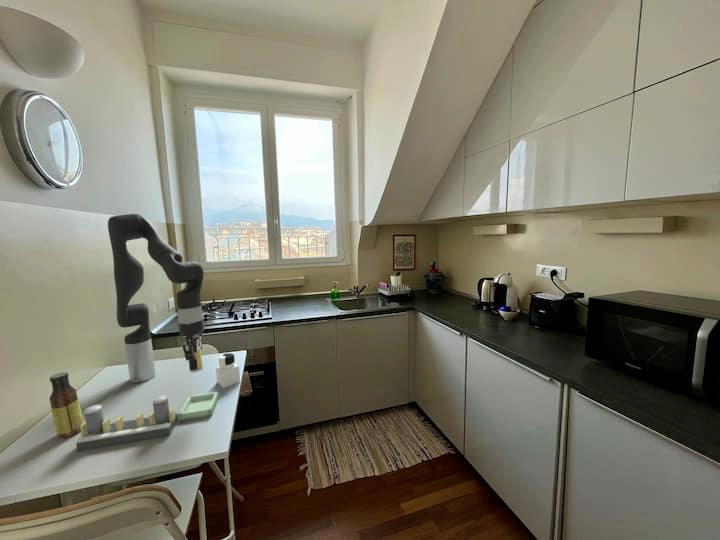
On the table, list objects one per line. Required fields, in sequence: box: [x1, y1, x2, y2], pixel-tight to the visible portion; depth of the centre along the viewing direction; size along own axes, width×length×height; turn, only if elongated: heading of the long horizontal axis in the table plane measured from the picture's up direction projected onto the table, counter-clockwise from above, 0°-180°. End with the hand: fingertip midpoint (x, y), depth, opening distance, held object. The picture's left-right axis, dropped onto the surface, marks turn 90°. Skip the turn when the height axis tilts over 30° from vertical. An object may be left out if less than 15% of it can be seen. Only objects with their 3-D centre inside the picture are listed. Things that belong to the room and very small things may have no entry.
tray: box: [178, 391, 220, 422], centre depth 106 cm, size 12×10×2 cm
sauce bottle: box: [49, 371, 84, 438], centre depth 94 cm, size 7×6×20 cm
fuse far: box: [152, 394, 170, 425], centre depth 95 cm, size 4×4×8 cm
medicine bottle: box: [215, 352, 241, 389], centre depth 124 cm, size 7×7×12 cm
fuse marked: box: [187, 346, 203, 373], centre depth 104 cm, size 4×4×8 cm
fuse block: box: [75, 407, 179, 452], centre depth 93 cm, size 8×24×6 cm, turn 104°
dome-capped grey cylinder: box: [83, 404, 105, 436], centre depth 90 cm, size 4×4×8 cm
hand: (195, 366), depth 104 cm, fingers closed on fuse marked, 4 cm apart
